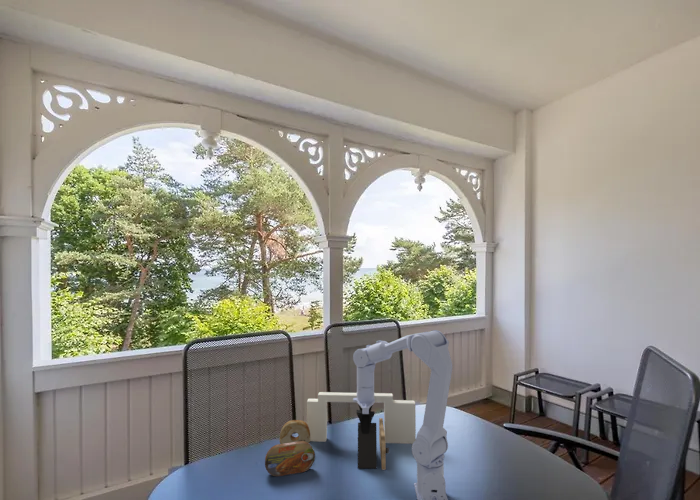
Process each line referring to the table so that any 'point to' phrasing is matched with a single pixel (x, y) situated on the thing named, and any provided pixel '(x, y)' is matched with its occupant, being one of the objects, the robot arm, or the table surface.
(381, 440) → the door
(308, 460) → the tin
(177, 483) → the table surface
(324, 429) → the door frame
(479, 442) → the table surface
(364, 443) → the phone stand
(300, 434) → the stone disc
